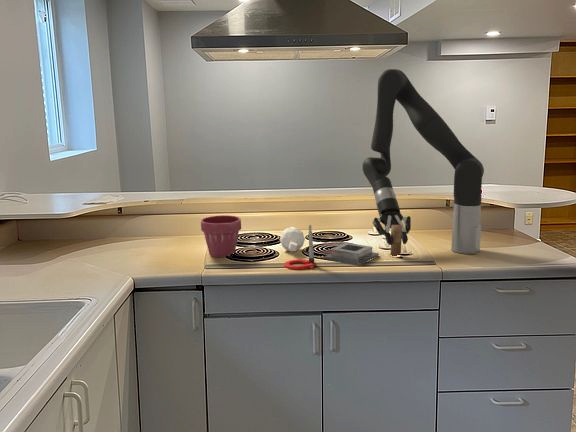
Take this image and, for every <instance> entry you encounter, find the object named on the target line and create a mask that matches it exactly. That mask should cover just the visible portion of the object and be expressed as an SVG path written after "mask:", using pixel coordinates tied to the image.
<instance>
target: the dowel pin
mask: <svg viewBox="0 0 576 432" xmlns="http://www.w3.org/2000/svg"><path fill="white" fill-rule="evenodd" d="M390 230H391V231H390V232H391V233H390V234H391V238H392V241H393V243H392V245H390V255H392V256H397V255H399V254H400V253H401V254H402V225H398V224H394V225H391V228H390ZM390 255H389V256H390Z"/></svg>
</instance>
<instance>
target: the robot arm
mask: <svg viewBox="0 0 576 432" xmlns="http://www.w3.org/2000/svg"><path fill="white" fill-rule="evenodd" d="M396 101H397V102H398V103H399V104H400V105H401V107H402V108H403V109H404V110H405V112H406V114H407V116H408V118H409V120H410V122H411V124H412V125H413V127H414V129H415V130H416V131H417V132H418V134H419V135H420V136H421V137H422V138H423V139H424V141H426V143H428V144H429V145H430V146H431V147H433V149H434V150H436V151H438V152H439V153H440V154H442V155H443V157H445V158H446V159H447V161H448V162H449V164H450V165H451V166H452V167H453V169H454V174H453V175H454V176H453V215H452V231H451V232H452V233H451V249H450V250H451V251H452V252H454V253H457V254H467V255H469V254H471V255H476V254H478V253H479V252H480V251H481V238H482V237H481V236H482V224H481V214H482V213H481V209H482V186H483V185H482V184H483V177H484V174H485V173H484V172H485V168H484V165H483V163H482V162H481V161H480V160H479V159H478V158H477V157H476V156H475V155H473V154H472V152H470V151H469V150H468V149H467V148H466V147H465V146H464V145H463V144H462V143H461V141H460V140H459V139H458V137H457V136H456V135H455V132H454V131H453V130H452V129H451V128H450V126H449V125H448V124H447V123H446V121H445V120H444V119H443V118H442V116H441V115H440V114H439V113H438V112H437V111H436V110H435V109H434V108H433V107H432V105H431V104H430V103H428V102H427V101H426V99H424V97H423V96H422V95H420V93H419V92H418V91H417V90H416V88H415V86H414V85H413V83H412V82H411V80H410V79H409V77H408V76H407V75H406V73H404V72H403V70H400V69H398V68H391V69H390V68H389V69H386V70H383V71H382V72H381V73H380V75H379V77H378V79H377V103H376V113H375V121H374V127H373V132H372V139H371V144H370V148H371V151H373V152H376V153H379V154H380V157H375V156H373V157H366V158H365V159H364V160H363V162H362V165H361V166H362V171H363V175H364V176H365V178H366V180H367V181H368V183H369V185H370V186H371V188H372V191H373V195H374V200H375V205H376V208H377V213H378V216H379V217H374V219H373V221H372V225H373V226H374V228H375V230H376V232H377V233H378V234H379V235H380V236H384V238H385V241H386V243H387V244H388V245H389V246H391V245H392V243H393V241H392V238H391V233H390V232H391V231H390V230H391V225H394V224H398V225H402V240H401V242H402V244H403V245H406V244H407V243H408V241H409V239H408V235H407V234H409V233H410V231H411V221H412V220H411V216H409V215H408V216H407V217H406V216H403V215H402V212H401V209H400V205H399V202H398V199H397V195H396V193H395V191H394V188H393V183H392V181H391V178H389V177H388V176H389V174H391V173H390V172H391V170H392V160H391V145H392V144H391V143H392V138H393V134H394V110H395V104H396ZM402 221H403V222H402ZM403 223H404V224H403ZM382 225H384V227H383V226H382Z"/></svg>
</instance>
